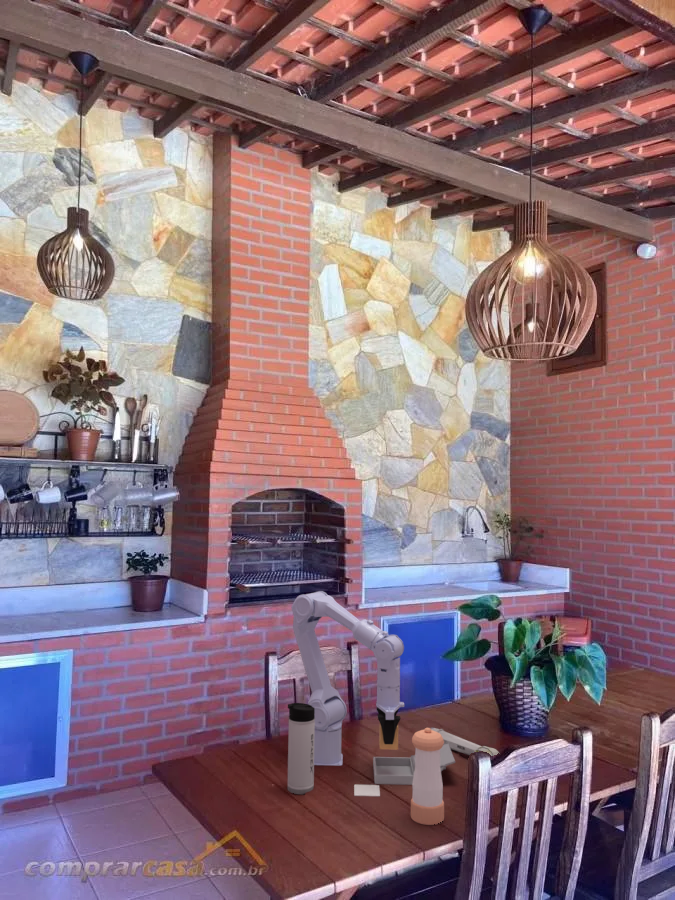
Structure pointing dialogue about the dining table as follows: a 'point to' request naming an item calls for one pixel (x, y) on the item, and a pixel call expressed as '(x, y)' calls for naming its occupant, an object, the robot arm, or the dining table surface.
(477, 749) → the white elongated piece
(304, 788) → the travel mug
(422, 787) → the pepper shaker
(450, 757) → the case
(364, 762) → the dining table surface
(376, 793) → the mat
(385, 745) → the block
